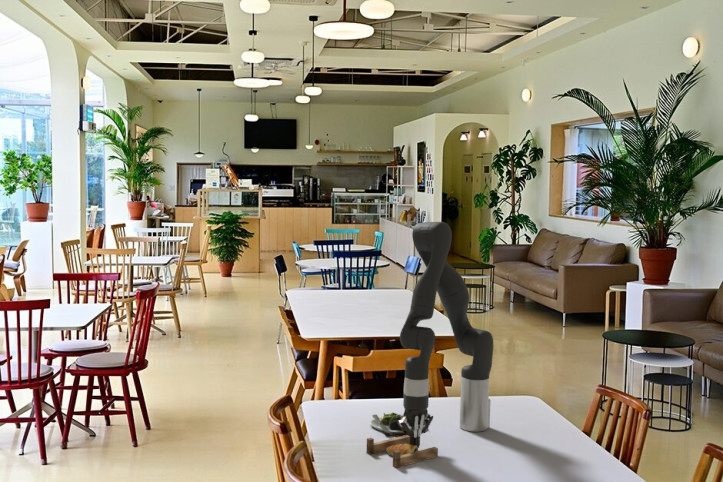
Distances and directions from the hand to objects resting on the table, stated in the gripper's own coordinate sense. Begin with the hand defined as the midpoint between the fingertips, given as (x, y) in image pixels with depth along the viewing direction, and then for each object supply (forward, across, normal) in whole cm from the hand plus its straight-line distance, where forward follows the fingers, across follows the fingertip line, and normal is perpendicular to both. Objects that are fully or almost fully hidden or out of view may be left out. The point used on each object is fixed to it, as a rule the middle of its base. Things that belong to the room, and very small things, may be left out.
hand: (414, 448), depth 228 cm
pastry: (+2, +5, +1) cm, 5 cm away
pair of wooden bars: (+1, +5, 0) cm, 5 cm away
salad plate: (+2, -10, -20) cm, 22 cm away
